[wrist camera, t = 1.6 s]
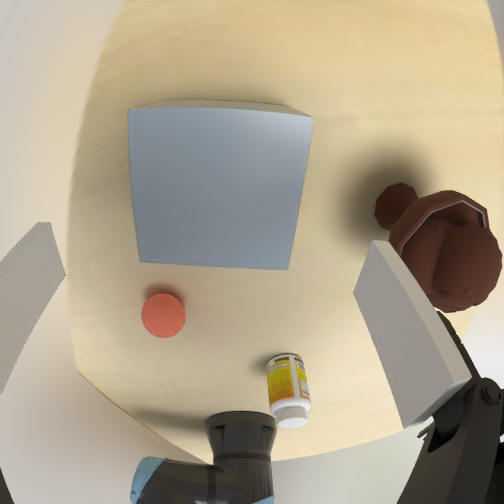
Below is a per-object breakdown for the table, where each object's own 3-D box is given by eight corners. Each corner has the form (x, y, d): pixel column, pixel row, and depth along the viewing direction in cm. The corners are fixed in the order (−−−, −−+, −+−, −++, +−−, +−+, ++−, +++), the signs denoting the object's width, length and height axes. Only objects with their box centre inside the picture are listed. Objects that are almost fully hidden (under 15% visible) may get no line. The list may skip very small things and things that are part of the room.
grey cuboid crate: (274, 213, 27) (287, 270, 20) (166, 208, 26) (140, 261, 19) (288, 106, 21) (313, 117, 14) (166, 100, 20) (128, 109, 13)
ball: (189, 316, 34) (183, 348, 30) (150, 313, 34) (141, 344, 29) (186, 285, 31) (180, 318, 27) (144, 282, 31) (132, 313, 27)
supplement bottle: (260, 370, 41) (264, 429, 33) (275, 349, 38) (282, 414, 30) (292, 374, 42) (301, 431, 34) (309, 355, 39) (321, 416, 31)
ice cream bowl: (329, 221, 27) (389, 339, 15) (398, 135, 23) (515, 202, 10) (391, 266, 31) (450, 367, 18) (451, 197, 26) (538, 276, 13)
